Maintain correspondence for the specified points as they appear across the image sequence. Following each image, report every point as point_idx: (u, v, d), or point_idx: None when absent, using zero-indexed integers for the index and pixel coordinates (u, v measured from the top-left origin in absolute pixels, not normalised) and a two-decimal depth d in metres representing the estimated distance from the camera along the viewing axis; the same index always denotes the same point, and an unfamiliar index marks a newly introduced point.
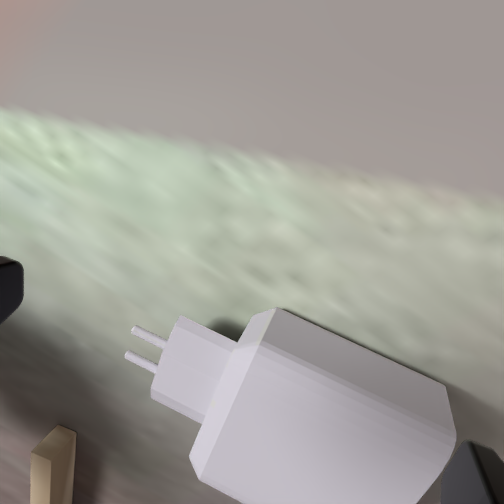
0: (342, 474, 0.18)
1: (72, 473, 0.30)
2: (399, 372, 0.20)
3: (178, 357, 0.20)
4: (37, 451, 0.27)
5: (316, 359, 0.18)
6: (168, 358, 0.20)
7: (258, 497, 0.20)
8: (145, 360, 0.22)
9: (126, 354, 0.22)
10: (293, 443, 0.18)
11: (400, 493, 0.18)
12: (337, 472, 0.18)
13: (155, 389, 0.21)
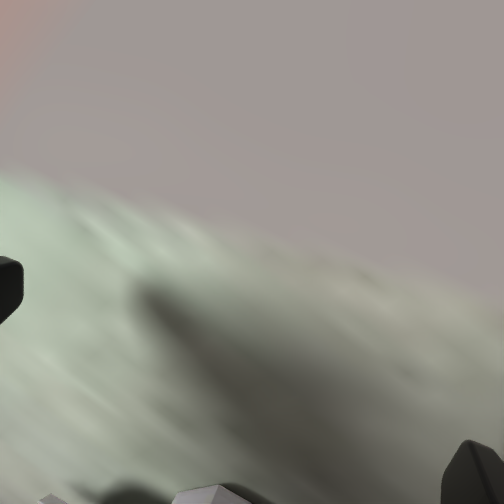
0: None
1: None
2: None
3: None
4: None
5: None
6: None
7: None
8: None
9: None
10: None
11: None
12: None
13: None
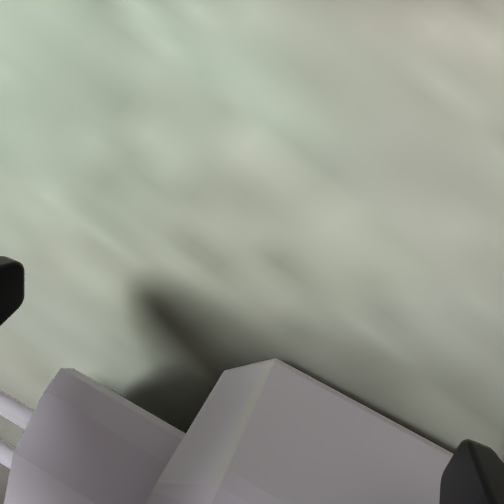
0: None
1: None
2: None
3: (47, 465, 0.09)
4: None
5: None
6: (27, 465, 0.09)
7: None
8: (3, 448, 0.11)
9: None
10: None
11: None
12: None
13: None
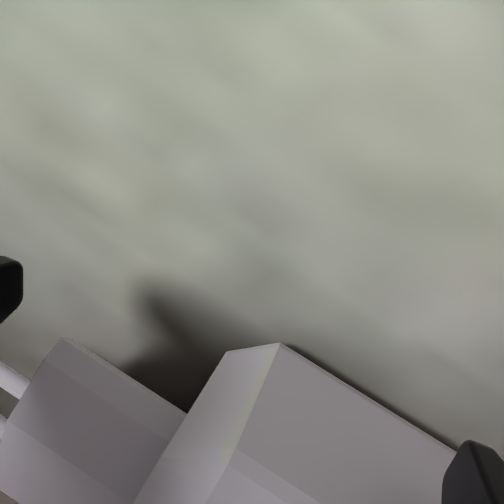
0: None
1: None
2: None
3: (42, 435, 0.09)
4: None
5: None
6: (21, 434, 0.09)
7: None
8: None
9: None
10: None
11: None
12: None
13: None
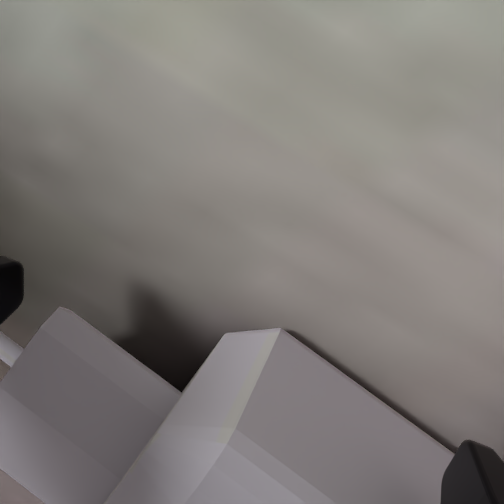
0: None
1: None
2: None
3: (33, 403, 0.09)
4: None
5: (367, 498, 0.07)
6: (11, 400, 0.09)
7: None
8: None
9: None
10: None
11: None
12: None
13: None
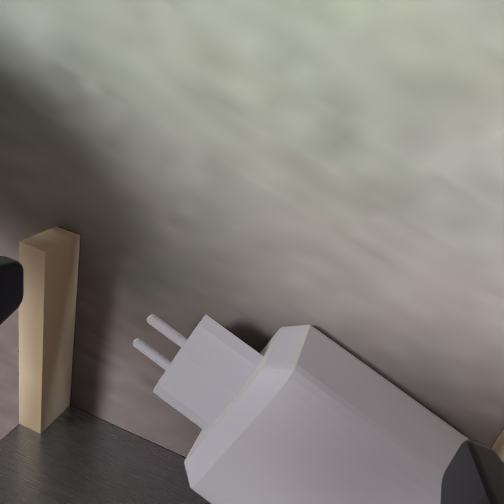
0: None
1: (74, 298, 0.23)
2: (428, 419, 0.18)
3: (195, 359, 0.19)
4: (27, 242, 0.20)
5: (350, 394, 0.17)
6: (184, 358, 0.19)
7: None
8: (154, 352, 0.20)
9: (135, 342, 0.20)
10: (306, 476, 0.17)
11: None
12: None
13: (161, 386, 0.20)
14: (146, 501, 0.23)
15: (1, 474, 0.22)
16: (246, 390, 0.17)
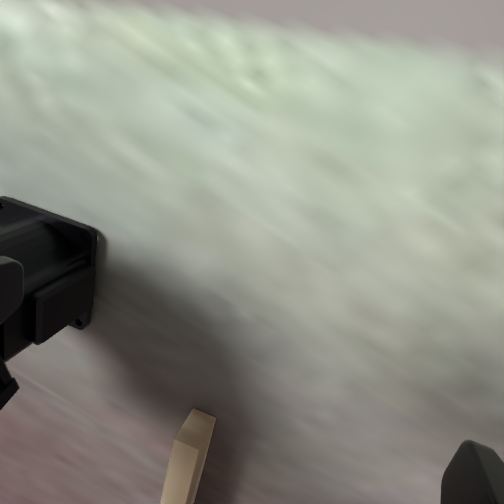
0: None
1: (203, 464, 0.26)
2: None
3: None
4: (180, 438, 0.23)
5: None
6: None
7: None
8: None
9: None
10: None
11: None
12: None
13: None
14: None
15: None
16: None
